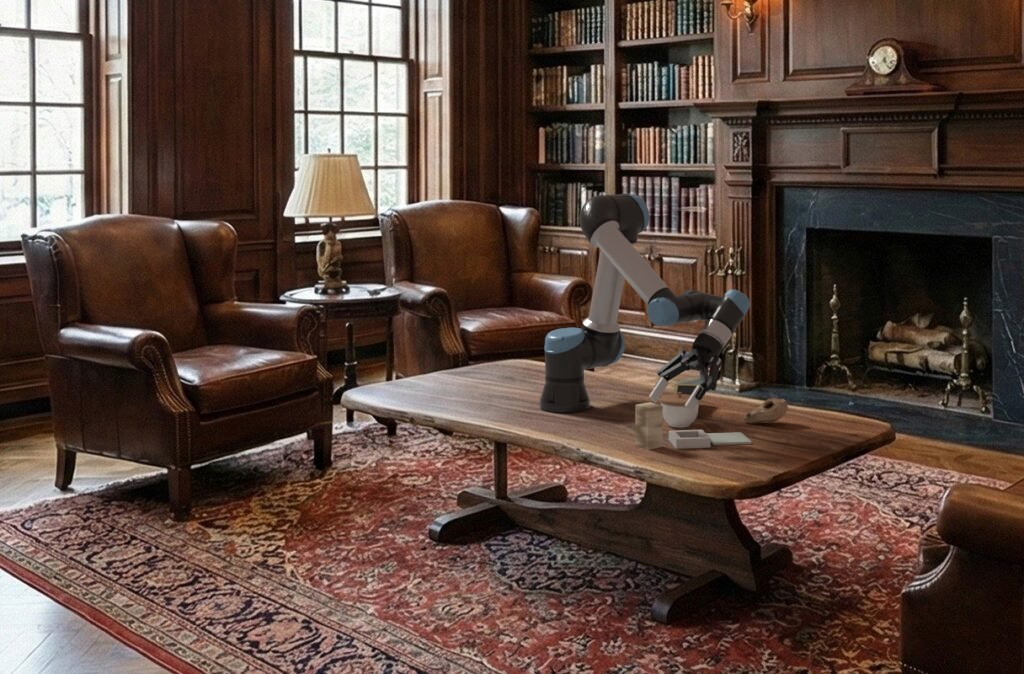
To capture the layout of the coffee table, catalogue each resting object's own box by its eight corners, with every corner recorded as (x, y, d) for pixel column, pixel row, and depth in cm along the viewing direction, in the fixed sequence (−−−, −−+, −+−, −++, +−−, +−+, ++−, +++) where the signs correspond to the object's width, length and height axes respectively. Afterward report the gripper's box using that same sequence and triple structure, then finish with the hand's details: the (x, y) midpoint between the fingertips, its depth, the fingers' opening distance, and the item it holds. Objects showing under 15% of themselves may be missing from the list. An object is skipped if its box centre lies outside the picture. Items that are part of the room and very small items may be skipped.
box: (700, 398, 343) (700, 383, 341) (699, 429, 322) (699, 412, 320) (673, 398, 344) (672, 383, 343) (670, 428, 323) (670, 412, 322)
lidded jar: (656, 428, 314) (656, 395, 312) (665, 419, 324) (665, 387, 322) (694, 431, 310) (694, 397, 309) (702, 422, 320) (702, 389, 318)
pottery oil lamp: (743, 419, 323) (744, 394, 322) (786, 420, 320) (787, 396, 319) (743, 426, 314) (743, 401, 313) (787, 428, 312) (788, 403, 311)
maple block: (635, 445, 296) (635, 404, 294) (649, 442, 299) (649, 402, 297) (648, 449, 292) (648, 408, 290) (662, 446, 295) (662, 405, 293)
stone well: (676, 448, 292) (676, 439, 292) (668, 439, 301) (668, 430, 301) (710, 447, 293) (710, 438, 293) (701, 438, 302) (702, 429, 302)
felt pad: (714, 445, 295) (714, 443, 295) (704, 435, 305) (704, 433, 305) (751, 443, 296) (751, 441, 296) (740, 434, 306) (740, 432, 306)
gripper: (753, 355, 294) (711, 420, 288) (685, 343, 314) (645, 404, 308) (739, 337, 290) (696, 403, 284) (671, 326, 310) (630, 387, 304)
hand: (669, 404), depth 296 cm, fingers open, 13 cm apart
